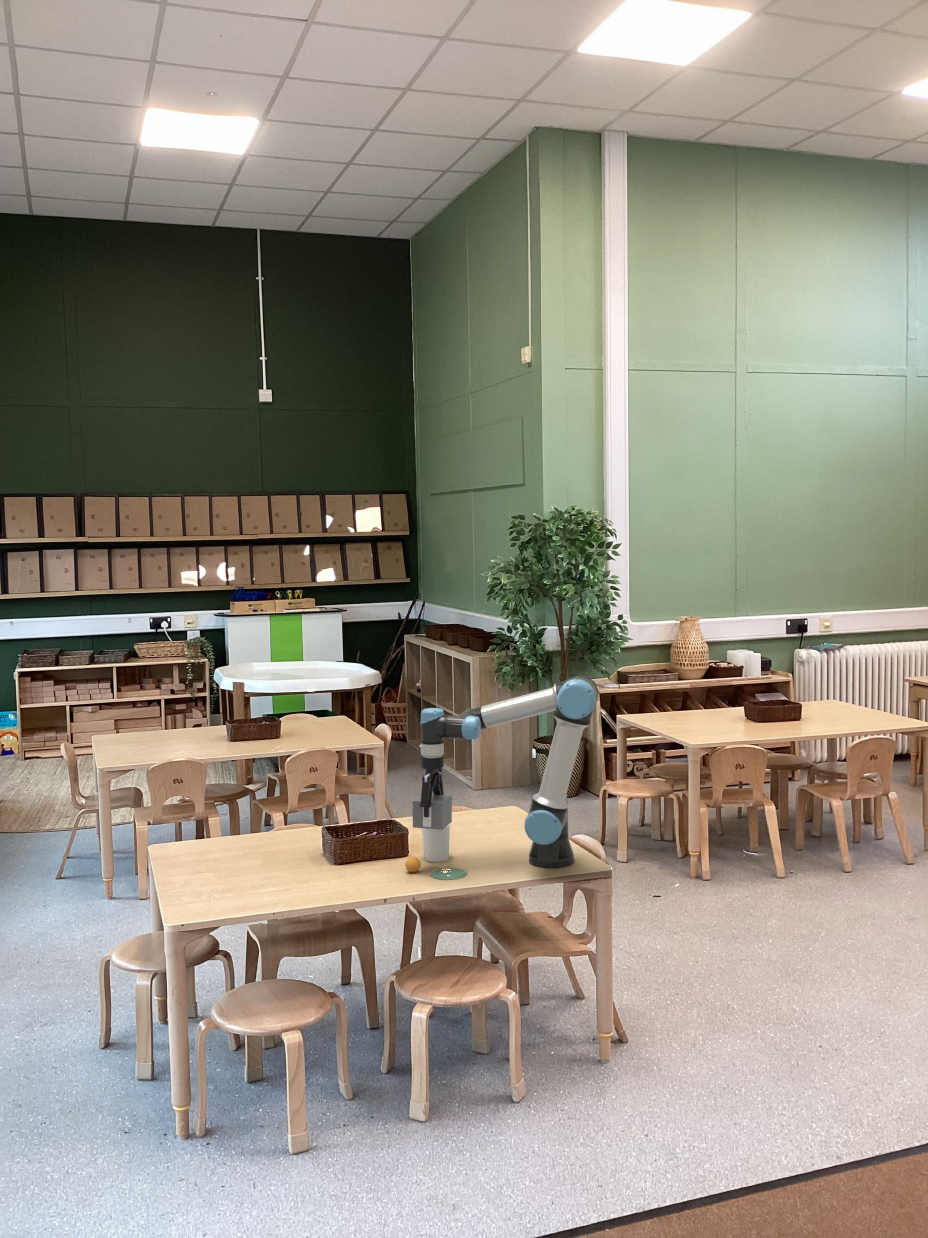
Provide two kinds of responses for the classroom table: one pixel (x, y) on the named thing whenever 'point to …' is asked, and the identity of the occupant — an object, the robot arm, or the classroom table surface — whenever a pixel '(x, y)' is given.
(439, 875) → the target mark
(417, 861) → the ball
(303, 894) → the classroom table surface
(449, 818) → the grey matte cube
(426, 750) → the robot arm
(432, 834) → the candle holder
